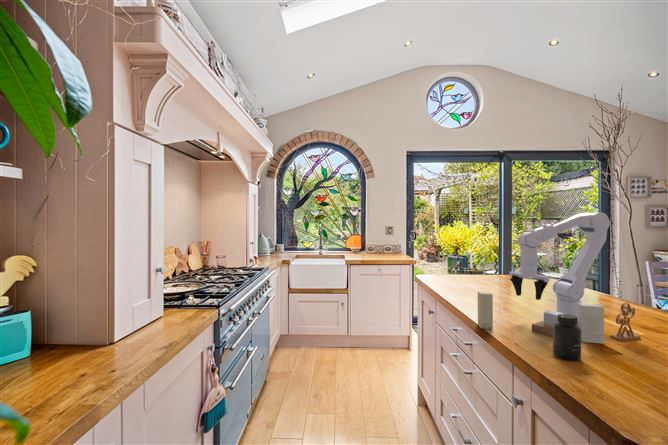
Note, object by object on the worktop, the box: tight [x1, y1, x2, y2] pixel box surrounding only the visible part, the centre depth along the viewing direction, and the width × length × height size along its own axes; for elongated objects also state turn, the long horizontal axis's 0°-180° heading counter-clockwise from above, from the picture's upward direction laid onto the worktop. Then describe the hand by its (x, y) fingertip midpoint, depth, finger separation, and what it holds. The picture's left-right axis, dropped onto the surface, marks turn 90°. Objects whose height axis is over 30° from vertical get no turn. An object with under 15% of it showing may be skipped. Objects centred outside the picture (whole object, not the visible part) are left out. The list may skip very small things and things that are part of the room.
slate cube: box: [543, 310, 564, 327], centre depth 119 cm, size 4×4×4 cm
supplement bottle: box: [552, 314, 582, 362], centre depth 98 cm, size 7×7×12 cm
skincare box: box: [577, 302, 605, 345], centre depth 111 cm, size 6×4×12 cm
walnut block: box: [531, 320, 553, 338], centre depth 119 cm, size 10×10×3 cm
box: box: [477, 290, 494, 330], centre depth 124 cm, size 5×4×13 cm
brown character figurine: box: [609, 302, 641, 342], centre depth 113 cm, size 9×4×12 cm, turn 105°
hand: (528, 297), depth 131 cm, fingers open, 7 cm apart
